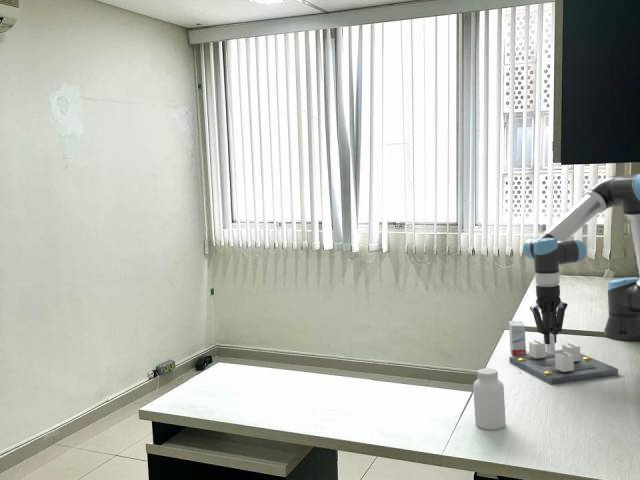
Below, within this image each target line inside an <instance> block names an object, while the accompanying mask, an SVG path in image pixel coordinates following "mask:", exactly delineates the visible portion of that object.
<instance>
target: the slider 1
mask: <svg viewBox="0 0 640 480" xmlns="http://www.w3.org/2000/svg"><path fill="white" fill-rule="evenodd" d="M528 350H529V354H530V356H531V357H533V358H535V359H537V358H544V357H546V352H547V349H546V344H545V343H544V341H541V340H535V339H534V340H533V341H529V342H528Z"/></svg>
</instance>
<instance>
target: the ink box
mask: <svg viewBox="0 0 640 480" xmlns="http://www.w3.org/2000/svg"><path fill="white" fill-rule="evenodd" d="M508 326H509V327H508V328H509V331H508V332H509V346H510V347H509V348H510V349H509V352H510V353H511V355H512V357H513V356H520V355H527V347H526V345H527V343H526V328H525V324H524V322H523V321H522V320H508Z"/></svg>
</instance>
